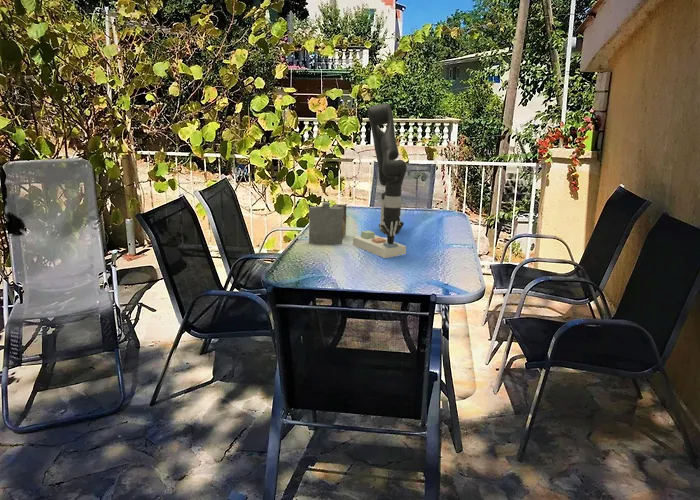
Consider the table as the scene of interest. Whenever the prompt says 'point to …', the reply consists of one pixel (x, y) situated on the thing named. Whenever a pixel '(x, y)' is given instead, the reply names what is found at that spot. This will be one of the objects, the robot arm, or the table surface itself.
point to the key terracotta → (378, 240)
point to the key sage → (367, 234)
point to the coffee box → (343, 219)
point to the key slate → (390, 245)
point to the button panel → (378, 247)
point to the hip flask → (325, 224)
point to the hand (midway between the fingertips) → (390, 243)
